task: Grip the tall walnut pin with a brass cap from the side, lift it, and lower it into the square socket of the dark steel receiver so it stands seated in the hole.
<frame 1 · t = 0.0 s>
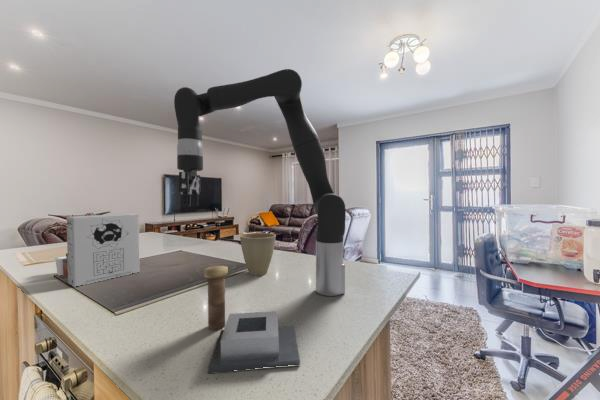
hand: (190, 206, 82), 29 cm above the kitchen island, tool pointing down, fingers open, 8 cm apart
steel receiver: (252, 348, 55), on the kitchen island
lighter: (74, 275, 106), on the kitchen island
shot glass: (66, 274, 108), on the kitchen island
walnut pin: (216, 326, 65), on the kitchen island
cereal box: (106, 278, 103), on the kitchen island
plant pot: (258, 273, 109), on the kitchen island
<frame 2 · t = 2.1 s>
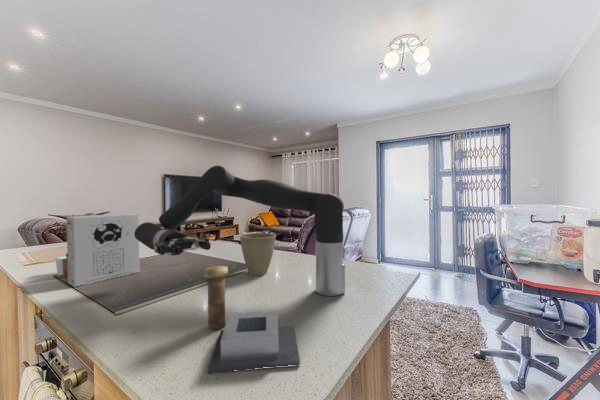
hand: (194, 248, 72), 18 cm above the kitchen island, tool horizontal, fingers open, 8 cm apart
nothing on the kitchen island moved.
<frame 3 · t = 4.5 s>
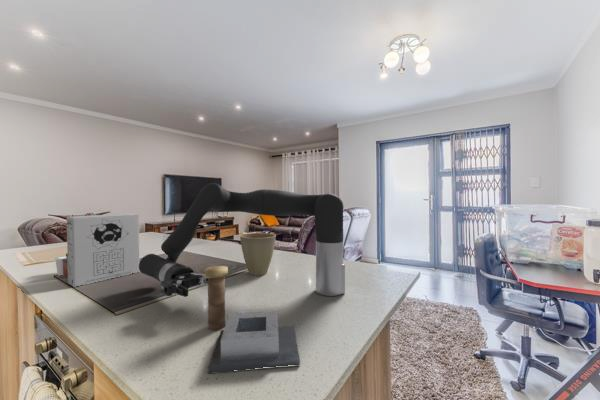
hand: (202, 288, 69), 8 cm above the kitchen island, tool horizontal, fingers open, 8 cm apart
nothing on the kitchen island moved.
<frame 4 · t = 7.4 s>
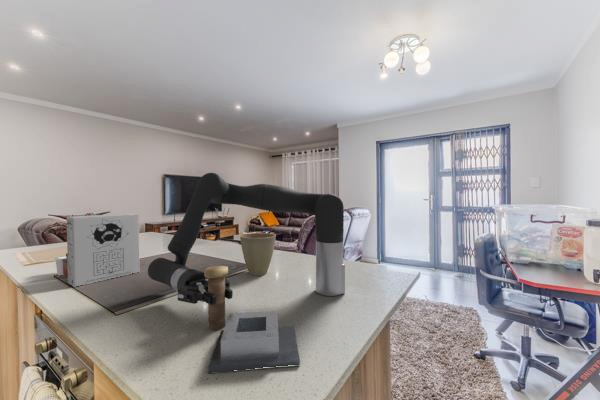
hand: (222, 297, 63), 8 cm above the kitchen island, tool horizontal, fingers closed on walnut pin, 4 cm apart
walnut pin: (216, 326, 65), on the kitchen island, touching gripper
everything else where it was.
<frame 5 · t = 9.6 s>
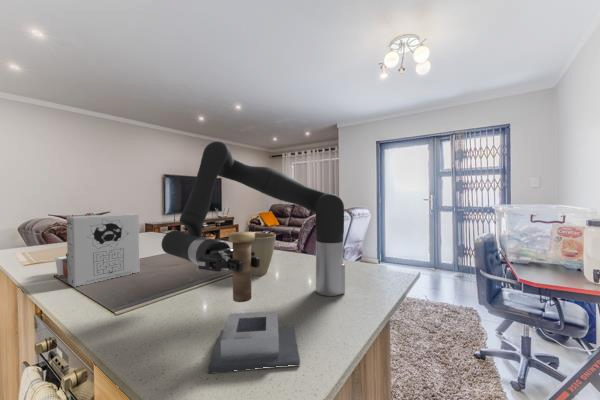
hand: (249, 264, 55), 18 cm above the kitchen island, tool horizontal, fingers closed on walnut pin, 4 cm apart
walnut pin: (242, 298, 57), point 10 cm above the kitchen island, touching gripper
everything else where it was.
when the fingers open (11 cm above the kitchen island, at t = 12.3 s): walnut pin drops 2 cm, resting on steel receiver.
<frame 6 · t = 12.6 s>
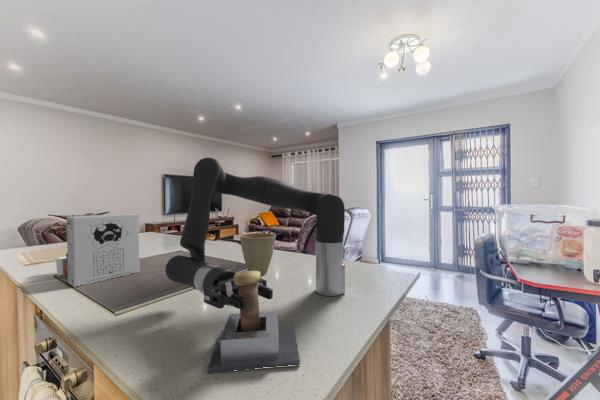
hand: (258, 299, 54), 11 cm above the kitchen island, tool horizontal, fingers open, 6 cm apart
walnut pin: (251, 341, 55), point 1 cm above the kitchen island, touching steel receiver
everything else where it was.
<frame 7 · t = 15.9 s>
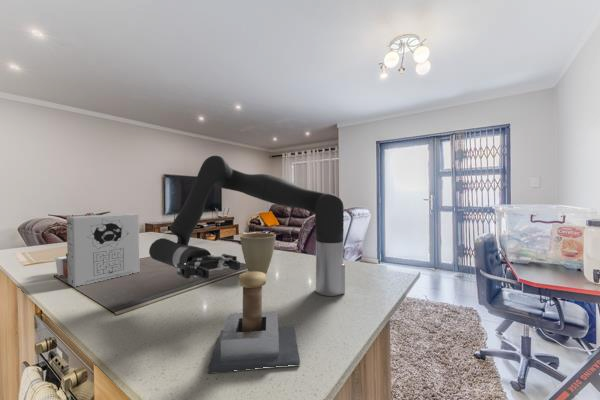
hand: (223, 270, 62), 15 cm above the kitchen island, tool horizontal, fingers open, 8 cm apart
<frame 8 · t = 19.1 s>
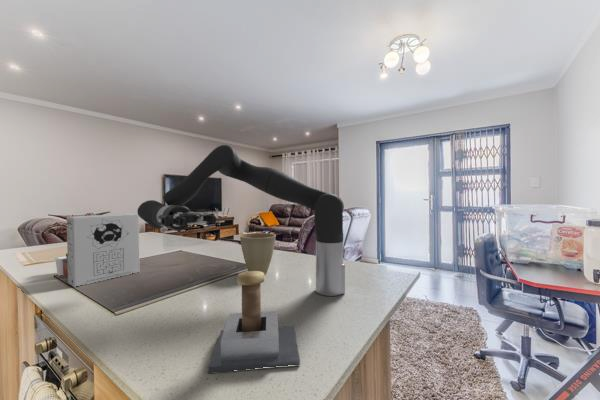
hand: (200, 220, 69), 26 cm above the kitchen island, tool horizontal, fingers open, 8 cm apart
at the end: walnut pin 0.1 cm off-centre on the steel receiver, point 1.3 cm above the steel receiver's base; walnut pin tilted 3°; the gripper is holding nothing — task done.
